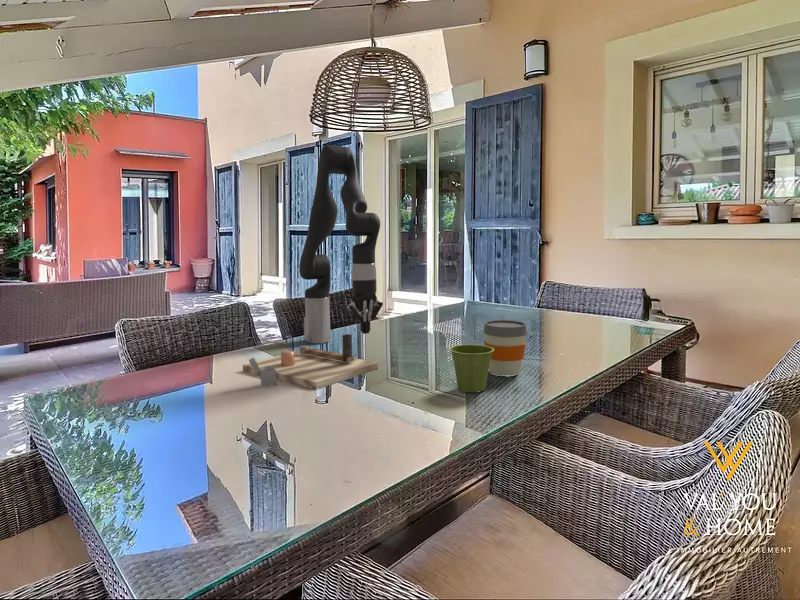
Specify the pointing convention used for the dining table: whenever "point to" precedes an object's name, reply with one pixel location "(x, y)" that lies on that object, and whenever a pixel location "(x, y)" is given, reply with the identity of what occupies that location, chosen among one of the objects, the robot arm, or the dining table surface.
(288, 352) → the peach rounded cube
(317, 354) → the lever
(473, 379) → the plant pot
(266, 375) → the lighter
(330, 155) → the robot arm
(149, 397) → the dining table surface
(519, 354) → the reusable coffee cup
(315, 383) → the board
